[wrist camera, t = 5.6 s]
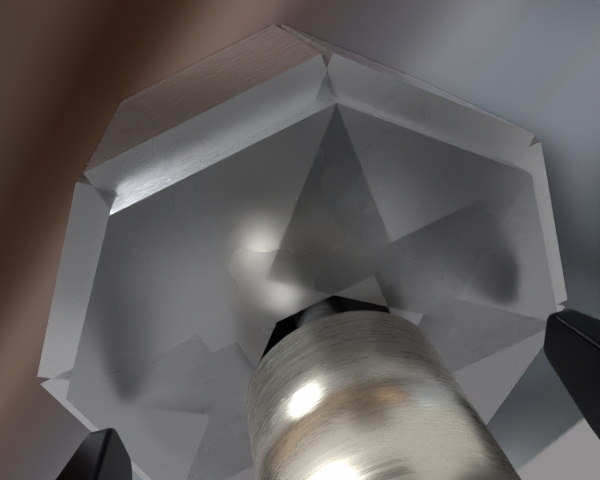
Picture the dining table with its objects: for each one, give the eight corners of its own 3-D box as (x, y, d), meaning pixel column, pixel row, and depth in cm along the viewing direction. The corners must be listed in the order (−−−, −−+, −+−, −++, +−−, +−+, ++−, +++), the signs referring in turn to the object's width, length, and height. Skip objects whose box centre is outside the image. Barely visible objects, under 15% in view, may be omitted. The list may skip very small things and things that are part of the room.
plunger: (463, 157, 14) (799, 385, 6) (354, 363, 16) (490, 688, 9) (193, 60, 11) (199, 245, 4) (121, 324, 14) (41, 729, 6)
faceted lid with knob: (512, 118, 14) (679, 193, 9) (343, 424, 19) (394, 578, 14) (148, -31, 11) (113, -34, 6) (55, 389, 16) (-7, 575, 11)
